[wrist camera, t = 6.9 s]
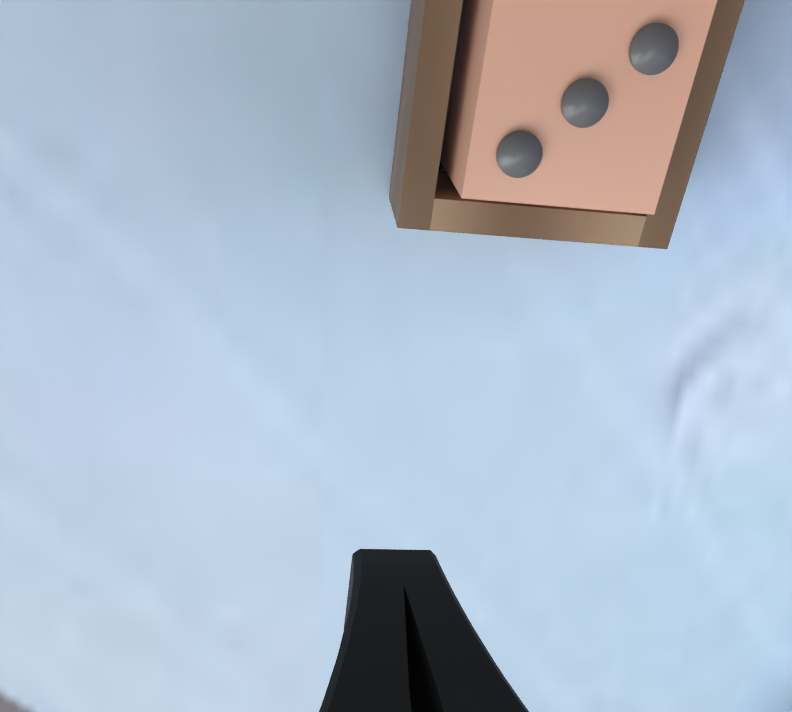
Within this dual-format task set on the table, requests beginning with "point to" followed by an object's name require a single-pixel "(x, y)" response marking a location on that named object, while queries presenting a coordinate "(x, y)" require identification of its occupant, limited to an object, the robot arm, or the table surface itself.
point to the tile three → (571, 99)
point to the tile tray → (446, 211)
